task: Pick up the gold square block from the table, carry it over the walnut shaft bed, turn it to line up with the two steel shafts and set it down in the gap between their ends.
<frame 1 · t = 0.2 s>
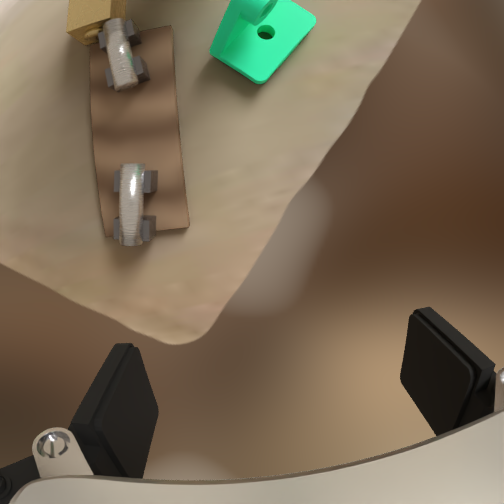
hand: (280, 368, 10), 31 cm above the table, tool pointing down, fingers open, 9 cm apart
shaft bed: (136, 128, 36), on the table
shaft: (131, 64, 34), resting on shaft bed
gold square block: (105, 22, 31), on the table
camera mount: (264, 40, 34), on the table
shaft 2: (143, 198, 38), resting on shaft bed
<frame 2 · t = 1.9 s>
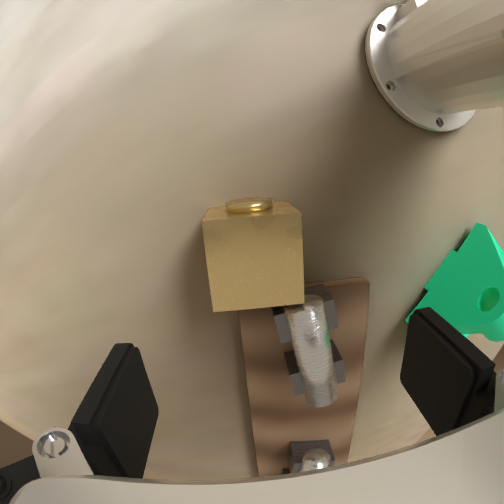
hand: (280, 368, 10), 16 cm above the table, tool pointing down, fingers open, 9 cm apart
shaft bed: (303, 399, 30), on the table
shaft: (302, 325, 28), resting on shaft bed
gold square block: (250, 241, 26), on the table
camera mount: (454, 287, 28), on the table
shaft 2: (301, 450, 33), resting on shaft bed
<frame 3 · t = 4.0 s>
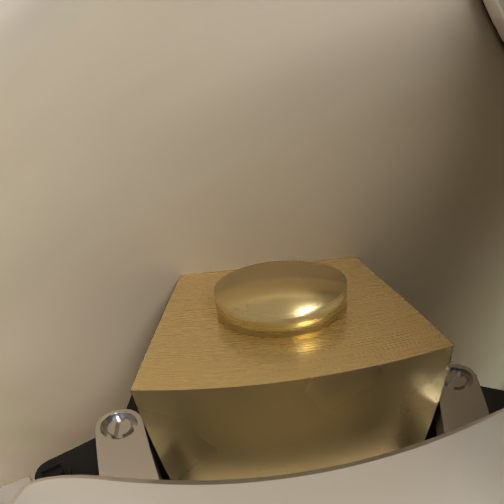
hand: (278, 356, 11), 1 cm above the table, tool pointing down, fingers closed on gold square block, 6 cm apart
gold square block: (275, 342, 12), on the table, touching gripper
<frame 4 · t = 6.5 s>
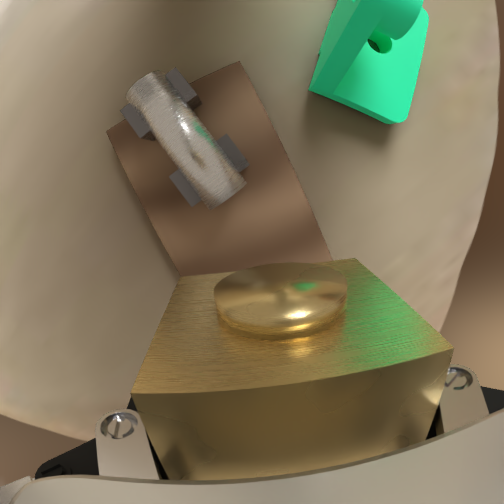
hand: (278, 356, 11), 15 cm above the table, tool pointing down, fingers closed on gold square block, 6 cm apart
shaft bed: (247, 245, 25), on the table
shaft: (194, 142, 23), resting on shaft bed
gold square block: (275, 344, 12), point 14 cm above the table, touching gripper
camera mount: (366, 51, 22), on the table
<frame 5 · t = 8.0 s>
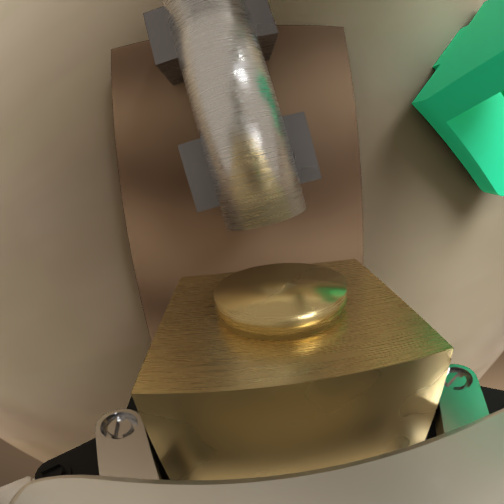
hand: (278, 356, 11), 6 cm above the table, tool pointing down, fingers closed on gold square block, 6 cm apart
shaft bed: (252, 289, 17), on the table
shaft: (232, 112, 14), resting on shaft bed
gold square block: (275, 344, 12), point 5 cm above the table, touching gripper
camera mount: (481, 92, 15), on the table
when the fingers open (3 cm above the table, at t = 9.1 s): gold square block stays where it is, resting on shaft bed.
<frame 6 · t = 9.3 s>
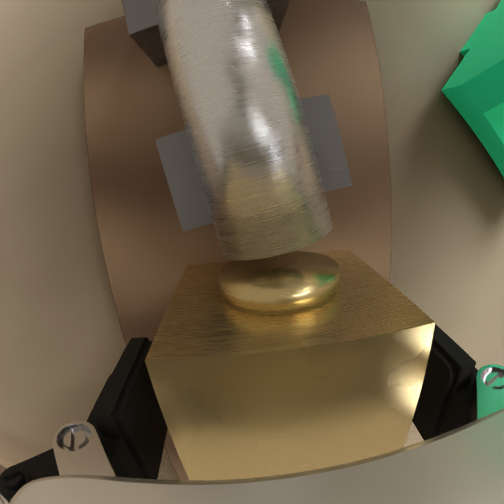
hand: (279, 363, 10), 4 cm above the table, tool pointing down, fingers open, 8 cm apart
shaft bed: (255, 316, 14), on the table
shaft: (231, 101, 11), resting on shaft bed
gold square block: (274, 330, 12), point 1 cm above the table, touching shaft bed
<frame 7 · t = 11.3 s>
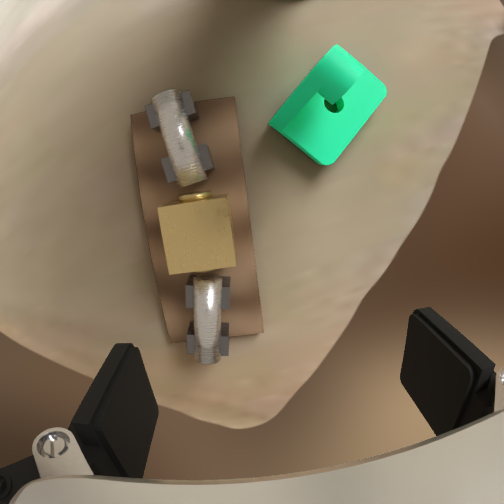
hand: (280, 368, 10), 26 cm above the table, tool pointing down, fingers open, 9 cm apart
shaft bed: (198, 224, 35), on the table
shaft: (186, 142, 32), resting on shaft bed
gold square block: (203, 225, 33), point 1 cm above the table, touching shaft bed
camera mount: (326, 107, 32), on the table
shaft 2: (210, 302, 37), resting on shaft bed
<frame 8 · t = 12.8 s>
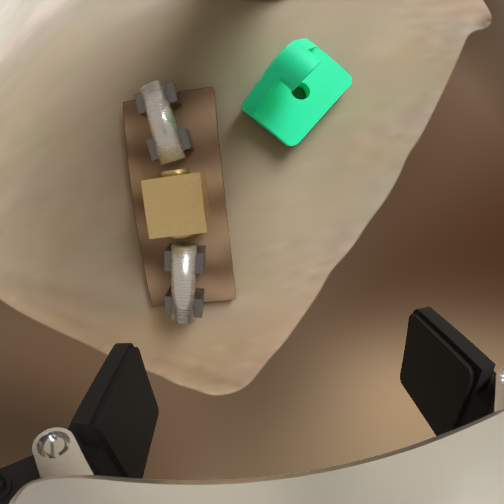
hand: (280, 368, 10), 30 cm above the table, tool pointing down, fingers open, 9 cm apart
shaft bed: (179, 199, 38), on the table
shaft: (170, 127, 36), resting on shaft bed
gold square block: (183, 199, 37), point 1 cm above the table, touching shaft bed
camera mount: (296, 95, 36), on the table
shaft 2: (189, 269, 41), resting on shaft bed
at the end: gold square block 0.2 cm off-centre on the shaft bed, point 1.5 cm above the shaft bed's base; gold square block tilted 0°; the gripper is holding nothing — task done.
